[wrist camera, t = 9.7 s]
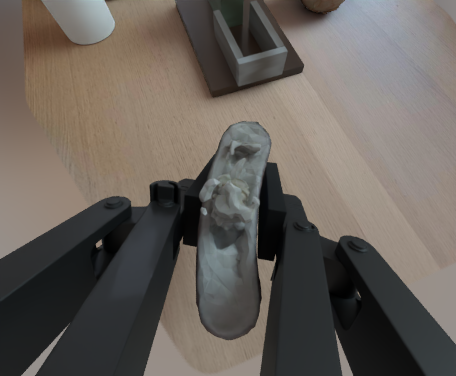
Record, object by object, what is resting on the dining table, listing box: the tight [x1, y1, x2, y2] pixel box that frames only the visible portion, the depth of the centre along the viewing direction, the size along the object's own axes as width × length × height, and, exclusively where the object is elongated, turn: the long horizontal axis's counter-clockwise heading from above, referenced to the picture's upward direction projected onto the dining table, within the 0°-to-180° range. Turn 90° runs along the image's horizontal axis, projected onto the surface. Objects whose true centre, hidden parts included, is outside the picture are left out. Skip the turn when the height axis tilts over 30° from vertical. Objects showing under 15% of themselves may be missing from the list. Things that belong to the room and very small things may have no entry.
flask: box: [196, 121, 271, 340], centre depth 12 cm, size 9×3×11 cm, turn 173°
